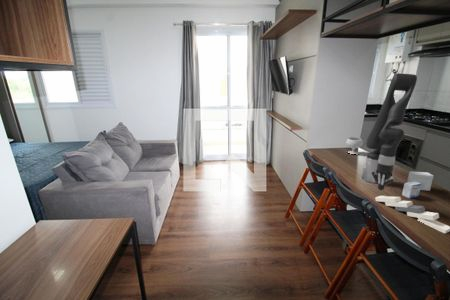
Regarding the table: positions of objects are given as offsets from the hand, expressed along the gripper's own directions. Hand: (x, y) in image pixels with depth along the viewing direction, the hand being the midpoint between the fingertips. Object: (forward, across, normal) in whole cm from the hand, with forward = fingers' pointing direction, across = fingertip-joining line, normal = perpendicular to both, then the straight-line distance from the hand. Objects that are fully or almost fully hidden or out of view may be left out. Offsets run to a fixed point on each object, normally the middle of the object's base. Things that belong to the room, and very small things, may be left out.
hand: (380, 189), depth 129 cm
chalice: (+7, +68, -66) cm, 95 cm away
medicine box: (+7, -5, -22) cm, 24 cm away
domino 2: (+6, -5, 0) cm, 8 cm away
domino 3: (+6, -11, 0) cm, 12 cm away
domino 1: (+6, 0, 0) cm, 6 cm away
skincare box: (+7, -1, -38) cm, 39 cm away
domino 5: (+6, -22, 0) cm, 22 cm away
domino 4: (+6, -16, 0) cm, 17 cm away
